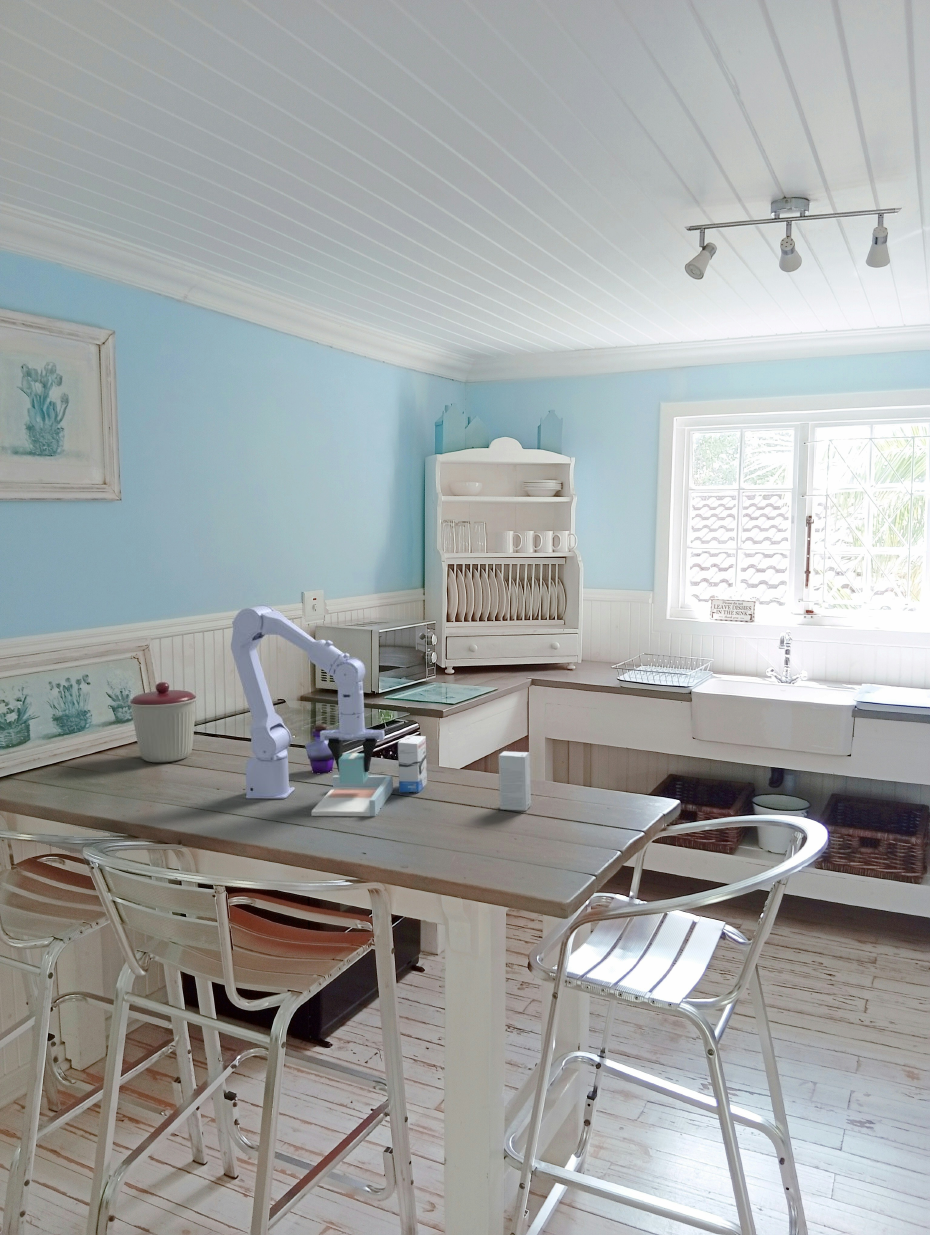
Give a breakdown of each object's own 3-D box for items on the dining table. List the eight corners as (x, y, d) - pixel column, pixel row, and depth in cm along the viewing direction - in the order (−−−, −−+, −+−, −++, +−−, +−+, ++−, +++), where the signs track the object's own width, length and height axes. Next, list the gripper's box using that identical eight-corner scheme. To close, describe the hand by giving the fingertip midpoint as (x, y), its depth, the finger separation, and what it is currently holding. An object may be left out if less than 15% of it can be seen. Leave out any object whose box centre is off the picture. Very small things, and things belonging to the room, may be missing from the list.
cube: (345, 776, 224) (344, 752, 223) (368, 776, 223) (367, 752, 223) (339, 783, 218) (338, 758, 218) (363, 783, 218) (362, 758, 217)
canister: (173, 747, 277) (168, 675, 275) (214, 755, 266) (210, 679, 264) (117, 761, 262) (112, 684, 260) (159, 770, 252) (154, 690, 249)
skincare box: (531, 805, 211) (530, 752, 210) (526, 811, 207) (525, 756, 206) (504, 803, 213) (503, 750, 212) (499, 809, 209) (497, 755, 208)
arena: (311, 815, 208) (310, 799, 208) (334, 789, 228) (333, 775, 228) (375, 816, 207) (374, 800, 206) (393, 790, 226) (392, 775, 226)
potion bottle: (345, 771, 245) (343, 725, 243) (314, 777, 240) (312, 730, 239) (330, 765, 252) (328, 719, 251) (299, 770, 247) (297, 724, 246)
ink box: (419, 793, 223) (417, 743, 222) (398, 792, 224) (396, 742, 223) (427, 783, 232) (426, 735, 230) (407, 783, 233) (406, 734, 231)
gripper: (315, 716, 216) (318, 775, 218) (379, 715, 214) (381, 775, 216) (323, 709, 223) (326, 767, 224) (385, 709, 221) (387, 767, 223)
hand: (353, 771), depth 221 cm, fingers closed on cube, 5 cm apart
